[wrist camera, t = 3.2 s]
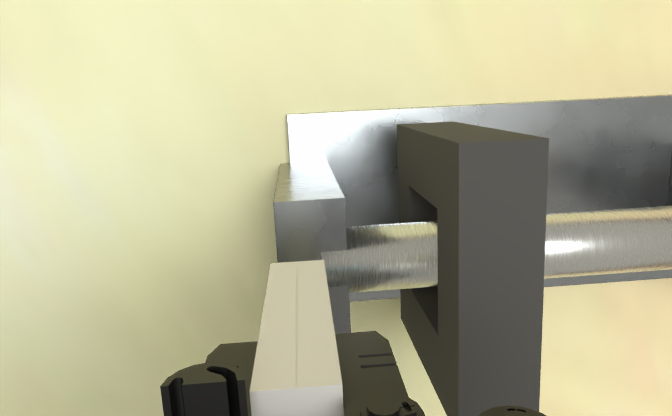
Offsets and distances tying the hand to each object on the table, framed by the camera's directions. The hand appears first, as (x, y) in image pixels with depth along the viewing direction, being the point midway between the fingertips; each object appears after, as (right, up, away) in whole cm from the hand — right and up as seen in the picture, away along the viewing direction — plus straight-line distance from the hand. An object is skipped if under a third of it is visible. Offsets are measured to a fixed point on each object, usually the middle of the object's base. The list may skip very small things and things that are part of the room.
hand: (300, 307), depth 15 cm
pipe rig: (+10, +3, +14) cm, 17 cm away
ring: (+5, +2, +9) cm, 11 cm away
